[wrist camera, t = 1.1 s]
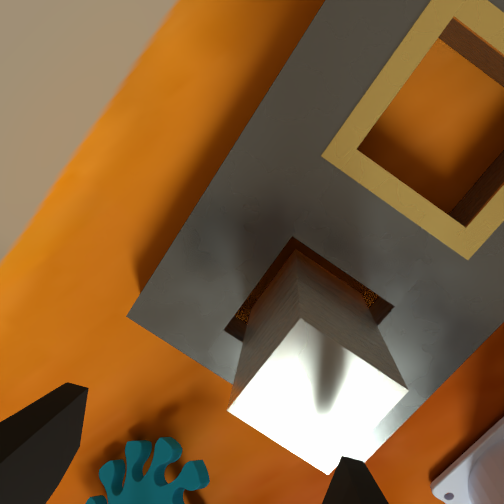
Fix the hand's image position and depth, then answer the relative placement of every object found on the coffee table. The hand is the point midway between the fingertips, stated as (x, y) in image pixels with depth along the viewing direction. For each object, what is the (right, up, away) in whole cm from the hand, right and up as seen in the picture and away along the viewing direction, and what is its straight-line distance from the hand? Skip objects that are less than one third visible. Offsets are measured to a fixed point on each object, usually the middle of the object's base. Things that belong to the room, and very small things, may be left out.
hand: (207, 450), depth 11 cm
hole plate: (+7, +7, +8) cm, 12 cm away
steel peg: (+4, +3, +9) cm, 10 cm away
